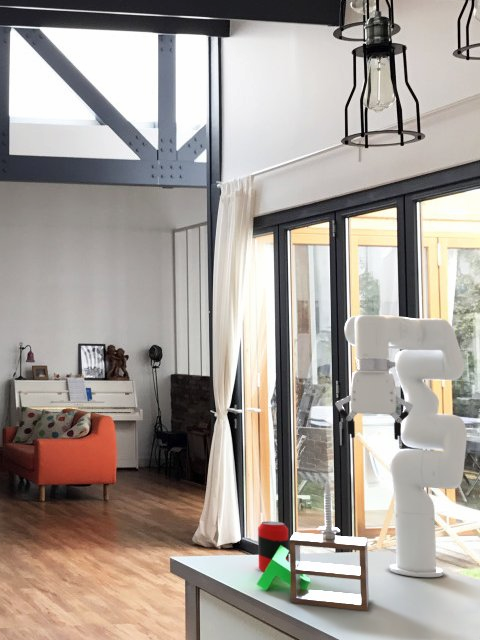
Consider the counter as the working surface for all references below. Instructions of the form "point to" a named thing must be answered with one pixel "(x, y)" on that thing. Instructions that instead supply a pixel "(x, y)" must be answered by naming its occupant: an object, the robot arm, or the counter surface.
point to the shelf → (328, 572)
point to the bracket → (280, 570)
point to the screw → (328, 516)
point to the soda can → (271, 541)
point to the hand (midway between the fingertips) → (374, 438)
